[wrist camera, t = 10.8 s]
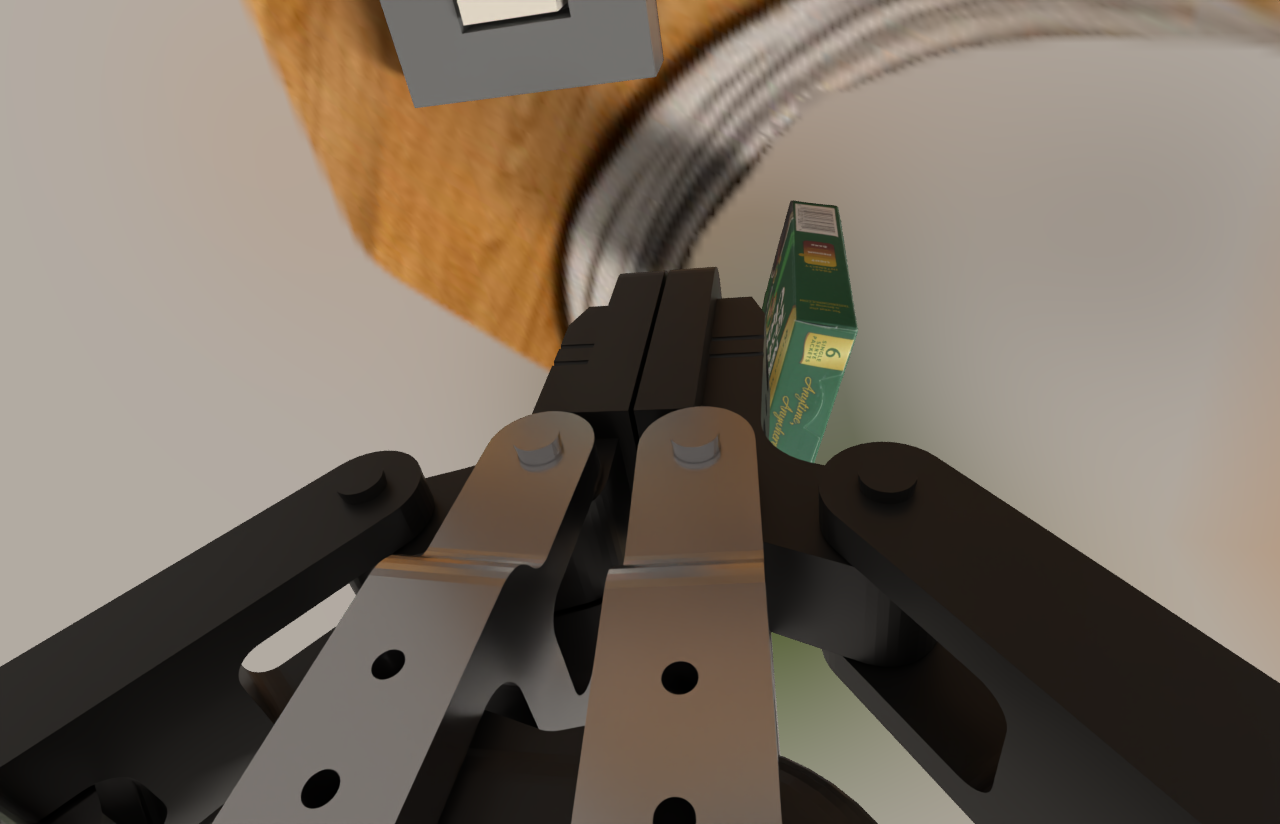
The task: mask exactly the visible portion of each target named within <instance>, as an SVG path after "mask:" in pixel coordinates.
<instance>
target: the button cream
mask: <svg viewBox="0 0 1280 824" xmlns="http://www.w3.org/2000/svg"><path fill="white" fill-rule="evenodd" d="M567 2H568V0H457V3H458V6H459V10H460V14H461V17H462V21H463V25H470V24H477V23H483V22H490V21H496V20H503V19H509V18H516V17H523V16H529V15H536V14H542V13H549V12H555V11H558V10H560V9H561V8H562V7H563V6H564V5H565V4H566V3H567Z"/></svg>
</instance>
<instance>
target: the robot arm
mask: <svg viewBox="0 0 1280 824" xmlns="http://www.w3.org/2000/svg"><path fill="white" fill-rule="evenodd" d="M769 417H770V384H769V368H768V353H767V337H766V322H765V313H764V312H763V311H762V309H761V308H760V307H759V305H758V304H757V303H756V302H755V300H754V299H753V298H752V297H738V298H723V299H722V297H721V287H720V278H719V272H718V269H717V267H707V268H694V269H680V270H670V271H669V272H667V271H654V272H640V273H626V274H620V275H619V277H618V280H617V282H616V285H615V288H614V291H613V294H612V296H611V299H610V302H609V305H608V306H597V307H589V308H588V309H587V310H586V311H584V312H583V313H582V314H581V315H580V316H579V317H578V318H577V319H576V320H575V321H573V322H572V323H571V324H570V325H569V327H568V330H567V332H566V334H565V337H564V339H563V341H562V344H561V349H559V351H558V353H557V356H556V358H555V360H554V366H552V368H551V370H550V372H549V375H548V377H547V379H546V382H545V384H544V387H543V389H542V391H541V394H540V396H539V399H538V401H537V403H536V406H535V408H534V411H533V413H532V415H528V416H525V417H523V418H520V419H518V420H516V421H514V422H512V423H510V424H509V425H507V426H505V427H504V428H503V429H501V430H500V431H499V432H498V433H497V434H496V435H495V436H494V437H493V438H492V439H491V441H490V442H489V443H488V445H487V447H486V449H485V450H484V452H483V454H482V455H481V457H480V459H479V461H478V462H477V464H476V465H475V466H472V467H468V468H465V469H461V470H457V471H453V472H449V473H445V474H440V475H437V476H432V477H428V478H425V477H424V475H423V473H422V471H421V468H420V466H419V464H418V462H417V461H416V460H415V459H414V458H413V457H412V456H410V455H409V454H406V453H403V452H398V451H379V452H373V453H369V454H365V455H363V456H359V457H357V458H354V459H352V460H349V461H348V462H346V463H344V464H342V465H340V466H338V467H337V468H335V469H333V470H332V471H330V472H328V473H327V474H325V475H323V476H321V477H320V478H318V479H316V480H315V481H313V482H311V483H310V484H308V485H306V486H305V487H303V488H301V489H300V490H298V491H296V492H295V493H293V494H291V495H289V496H288V497H286V498H285V499H283V500H281V501H279V502H278V503H276V504H274V505H273V506H271V507H269V508H267V509H266V510H264V511H263V512H261V513H259V514H257V515H256V516H254V517H252V518H251V519H249V520H247V521H246V522H244V523H242V524H240V525H239V526H237V527H235V528H234V529H232V530H230V531H229V532H227V533H225V534H224V535H222V536H220V537H219V538H217V539H215V540H213V541H212V542H210V543H208V544H207V545H205V546H203V547H202V548H200V549H198V550H197V551H195V552H193V553H192V554H190V555H188V556H187V557H185V558H183V559H181V560H180V561H178V562H176V563H175V564H173V565H171V566H170V567H168V568H166V569H165V570H163V571H161V572H159V573H158V574H156V575H154V576H153V577H151V578H149V579H148V580H146V581H144V582H143V583H141V584H139V585H138V586H136V587H134V588H132V589H131V590H129V591H127V592H126V593H124V594H122V595H121V596H119V597H117V598H116V599H114V600H112V601H111V602H109V603H107V604H106V605H104V606H102V607H100V608H99V609H97V610H95V611H94V612H92V613H90V614H89V615H87V616H85V617H84V618H82V619H80V620H79V621H77V622H75V623H73V624H72V625H70V626H69V627H67V628H65V629H63V630H62V631H60V632H58V633H57V634H55V635H53V636H52V637H50V638H48V639H46V640H45V641H43V642H42V643H40V644H38V645H36V646H35V647H33V648H31V649H30V650H28V651H26V652H25V653H23V654H21V655H19V656H18V657H16V658H14V659H13V660H11V661H9V662H8V663H6V664H4V665H3V666H1V667H0V824H878V823H877V822H876V821H875V820H874V819H873V818H872V817H871V816H870V815H869V814H868V813H867V812H866V811H865V810H864V809H863V808H862V807H861V806H860V805H859V804H858V803H857V802H855V801H854V800H853V799H852V798H850V797H849V796H848V795H847V794H845V793H844V792H843V791H841V790H840V789H839V788H838V787H837V786H836V785H834V784H833V783H831V782H830V781H828V780H826V779H824V778H823V777H822V776H820V775H818V774H817V773H815V772H814V771H812V770H810V769H809V768H806V767H804V766H802V765H800V764H798V763H796V762H794V761H792V760H790V759H788V758H786V757H783V756H780V746H779V733H778V720H777V706H776V693H775V680H774V666H773V652H772V638H771V632H773V633H776V634H779V635H782V636H785V637H788V638H791V639H794V640H797V641H800V642H803V643H806V644H809V645H812V646H815V647H818V648H821V649H822V651H823V655H824V658H825V659H826V661H827V663H828V665H829V667H830V668H831V669H832V671H833V672H834V673H835V674H836V675H837V676H838V677H839V678H840V680H841V681H842V682H843V683H844V684H845V685H846V686H847V687H848V688H849V689H850V690H851V691H852V692H853V693H854V695H855V696H856V697H857V698H858V699H859V700H860V701H861V702H862V703H863V704H864V705H865V706H866V707H867V708H868V710H869V711H870V712H871V713H872V714H873V715H874V716H875V717H876V718H877V719H878V720H879V721H880V722H881V724H882V725H883V726H884V727H885V728H886V729H887V730H888V731H889V732H890V733H891V734H892V735H893V736H894V737H895V739H896V740H897V741H898V742H899V743H900V744H901V745H902V746H903V747H904V748H905V749H906V750H907V751H908V752H909V754H910V755H911V756H912V757H913V758H914V759H915V760H916V761H917V762H918V763H919V764H920V765H921V766H922V767H923V769H924V770H925V771H926V772H927V773H928V774H929V775H930V776H931V777H932V778H933V779H934V780H935V781H936V782H937V784H938V785H939V786H940V787H941V788H942V789H943V790H944V791H945V792H946V793H947V794H948V795H949V796H950V797H951V799H952V800H953V801H954V802H955V803H956V804H957V805H958V806H959V807H960V808H961V809H962V810H963V811H964V813H965V814H966V815H967V816H968V817H969V818H970V819H971V820H972V821H973V822H974V823H975V824H1280V683H1279V682H1277V681H1276V680H1274V679H1272V678H1271V677H1269V676H1268V675H1266V674H1265V673H1263V672H1262V671H1260V670H1259V669H1257V668H1256V667H1254V666H1253V665H1251V664H1250V663H1248V662H1247V661H1245V660H1244V659H1242V658H1241V657H1239V656H1238V655H1236V654H1235V653H1233V652H1231V651H1230V650H1229V649H1227V648H1225V647H1224V646H1222V645H1221V644H1219V643H1218V642H1216V641H1215V640H1213V639H1212V638H1210V637H1209V636H1207V635H1205V634H1204V633H1203V632H1201V631H1200V630H1198V629H1197V628H1195V627H1193V626H1192V625H1190V624H1189V623H1188V622H1186V621H1185V620H1183V619H1181V618H1180V617H1178V616H1177V615H1175V614H1174V613H1172V612H1171V611H1169V610H1168V609H1166V608H1165V607H1163V606H1162V605H1160V604H1159V603H1157V602H1156V601H1154V600H1152V599H1151V598H1149V597H1148V596H1147V595H1145V594H1144V593H1142V592H1141V591H1139V590H1137V589H1136V588H1134V587H1133V586H1131V585H1130V584H1128V583H1127V582H1125V581H1124V580H1122V579H1121V578H1119V577H1118V576H1116V575H1114V574H1113V573H1112V572H1110V571H1109V570H1107V569H1106V568H1104V567H1103V566H1101V565H1099V564H1098V563H1096V562H1095V561H1093V560H1092V559H1090V558H1089V557H1087V556H1086V555H1084V554H1083V553H1081V552H1080V551H1078V550H1077V549H1075V548H1074V547H1072V546H1071V545H1069V544H1068V543H1066V542H1065V541H1063V540H1062V539H1060V538H1058V537H1057V536H1056V535H1054V534H1053V533H1051V532H1050V531H1047V530H1046V529H1045V528H1043V527H1042V526H1040V525H1039V524H1037V523H1036V522H1034V521H1033V520H1031V519H1030V518H1028V517H1027V516H1025V515H1024V514H1022V513H1021V512H1019V511H1018V510H1016V509H1015V508H1013V507H1012V506H1010V505H1009V504H1007V503H1006V502H1004V501H1002V500H1001V499H999V498H998V497H996V496H995V495H993V494H992V493H990V492H989V491H987V490H986V489H984V488H983V487H981V486H980V485H978V484H977V483H975V482H974V481H972V480H971V479H969V478H968V477H966V476H965V475H963V474H961V473H960V472H958V471H957V470H955V469H954V468H952V467H951V466H949V465H948V464H946V463H945V462H943V461H941V460H940V459H938V458H937V457H936V456H934V455H932V454H930V453H929V452H927V451H924V450H922V449H919V448H917V447H913V446H909V445H906V444H900V443H894V442H871V443H865V444H860V445H856V446H853V447H850V448H848V449H845V450H843V451H841V452H840V453H838V454H837V455H835V456H834V457H832V458H831V459H830V460H829V461H828V462H827V464H826V465H820V464H816V463H811V462H807V461H804V460H800V459H797V458H795V457H792V456H790V455H788V454H786V453H784V452H782V451H781V450H779V449H778V448H777V447H775V446H774V445H773V444H772V443H771V442H770V441H769V423H770V421H769ZM348 583H349V584H350V586H351V587H352V589H353V591H354V592H355V594H356V597H355V598H354V600H353V601H352V603H351V605H350V606H349V608H348V609H347V611H346V612H345V614H344V616H343V617H342V619H341V620H340V622H339V623H338V625H337V626H336V627H335V628H333V629H332V630H330V631H329V632H328V633H326V634H325V635H323V636H322V637H321V638H319V639H318V640H316V641H315V642H313V643H312V644H311V645H309V646H308V647H306V648H305V649H304V650H302V651H301V652H299V653H298V654H296V655H295V656H293V657H292V658H291V659H289V660H288V661H286V662H285V663H283V664H282V665H280V666H279V667H277V668H275V669H273V670H270V671H266V672H259V673H257V672H251V671H248V670H247V669H245V668H244V667H243V666H242V665H241V664H242V662H243V660H244V658H245V657H246V656H247V655H248V653H249V652H250V651H251V650H252V649H253V648H255V647H256V646H257V645H259V644H260V643H261V642H263V641H264V640H266V639H267V638H269V637H270V636H272V635H273V634H275V633H276V632H278V631H279V630H281V629H282V628H284V627H285V626H287V625H288V624H289V623H291V622H292V621H294V620H295V619H297V618H298V617H300V616H301V615H303V614H304V613H306V612H307V611H308V610H310V609H311V608H313V607H314V606H316V605H317V604H319V603H320V602H322V601H323V600H325V599H326V598H328V597H329V596H331V595H332V594H334V593H335V592H336V591H338V590H340V589H341V588H342V587H344V586H345V585H347V584H348Z"/></svg>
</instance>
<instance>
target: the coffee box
mask: <svg viewBox="0 0 1280 824" xmlns="http://www.w3.org/2000/svg"><path fill="white" fill-rule="evenodd" d="M762 311H763V312H764V313H765V322H766V337H767V353H768V368H769V384H770V417H769V421H770V423H769V441H770V442H771V443H772V444H773V445H774V446H775V447H777V448H778V449H779V450H781V451H782V452H784V453H786V454H788V455H790V456H792V457H795V458H797V459H800V460H804V461H807V462H811V463H814V462H815V459H816V455H817V453H818V449H819V446H820V443H821V440H822V438H823V435H824V432H825V429H826V425H827V422H828V419H829V417H830V414H831V410H832V408H833V404H834V401H835V398H836V396H837V393H838V389H839V386H840V383H841V381H842V378H843V375H844V372H845V369H846V366H847V363H848V360H849V357H850V354H851V351H852V348H853V345H854V342H855V339H856V336H857V332H858V328H857V323H856V316H855V310H854V303H853V297H852V291H851V285H850V279H849V272H848V265H847V259H846V251H845V245H844V238H843V232H842V226H841V220H840V215H839V210H838V207H837V206H834V205H823V204H814V203H806V202H799V201H791V202H790V205H789V209H788V212H787V216H786V219H785V223H784V227H783V230H782V234H781V237H780V241H779V244H778V249H777V252H776V256H775V260H774V263H773V267H772V272H771V275H770V279H769V283H768V287H767V291H766V293H765V297H764V303H763V307H762Z"/></svg>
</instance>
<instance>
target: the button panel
mask: <svg viewBox="0 0 1280 824" xmlns="http://www.w3.org/2000/svg"><path fill="white" fill-rule="evenodd" d="M380 3H381V6H382V9H383V12H384V15H385V18H386V21H387V24H388V27H389V30H390V33H391V36H392V39H393V42H394V46H395V49H396V52H397V55H398V58H399V61H400V64H401V67H402V70H403V73H404V76H405V79H406V82H407V85H408V88H409V91H410V94H411V98H412V101H413V104H414V107H415V108H420V107H427V106H435V105H443V104H450V103H458V102H466V101H473V100H481V99H489V98H496V97H504V96H512V95H519V94H527V93H535V92H542V91H550V90H558V89H565V88H573V87H581V86H588V85H596V84H604V83H611V82H619V81H627V80H635V79H642V78H650V77H656V75H657V73H658V71H659V69H660V67H661V65H662V62H663V60H664V59H663V51H662V43H661V35H660V27H659V20H658V12H657V4H656V0H568V2H567V3H566V4H565V5H564V6H563V7H562V8H561V9H560V10H558V11H555V12H549V13H542V14H536V15H529V16H523V17H516V18H509V19H503V20H496V21H490V22H483V23H477V24H470V25H463V21H462V17H461V14H460V10H459V6H458V3H457V0H380Z"/></svg>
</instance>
